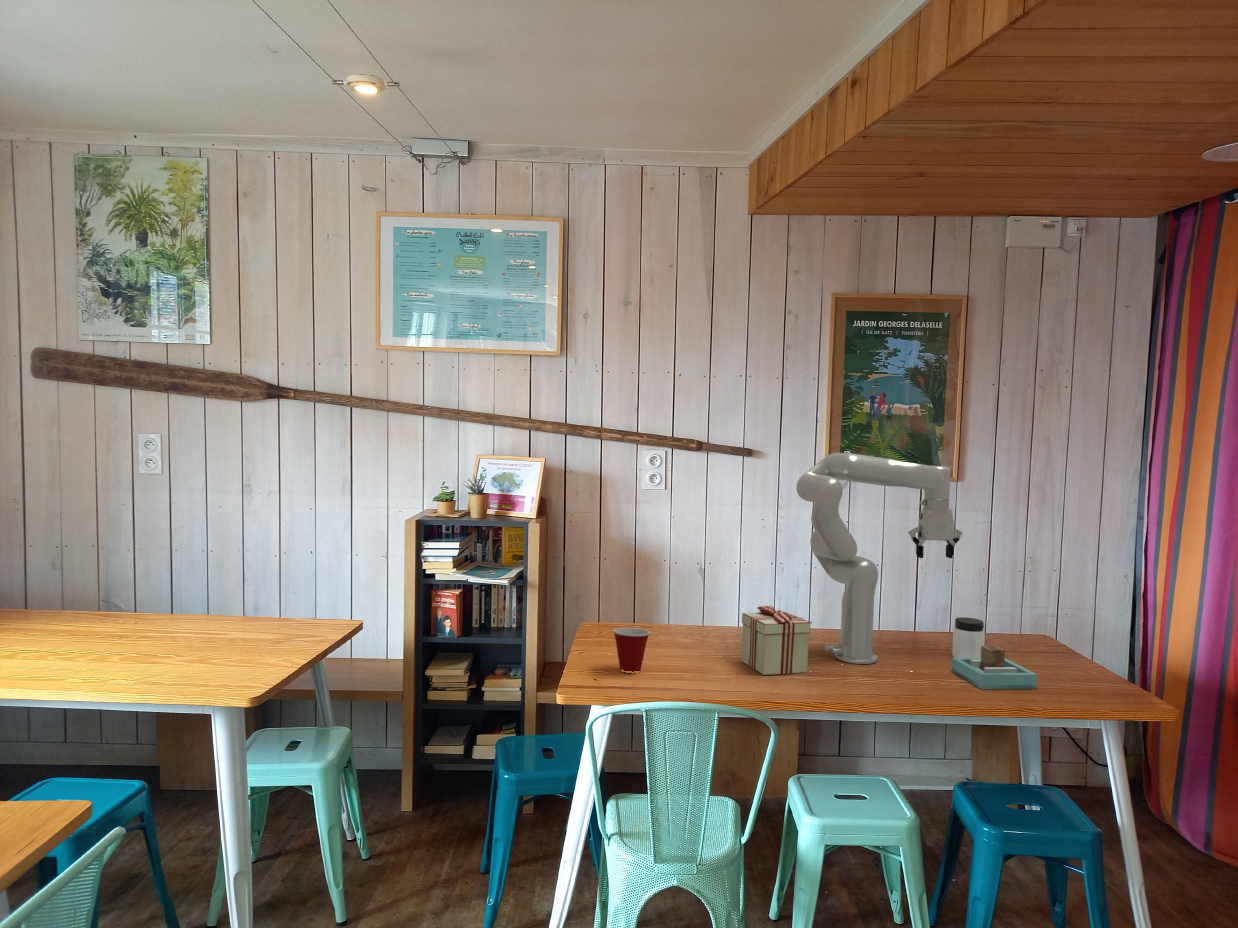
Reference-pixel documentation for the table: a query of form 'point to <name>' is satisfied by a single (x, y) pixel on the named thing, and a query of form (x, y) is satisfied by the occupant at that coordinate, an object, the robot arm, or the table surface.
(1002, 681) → the candle dish
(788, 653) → the gift box
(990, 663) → the brown wooden block
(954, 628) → the jar
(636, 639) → the plastic cup
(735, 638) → the table surface
